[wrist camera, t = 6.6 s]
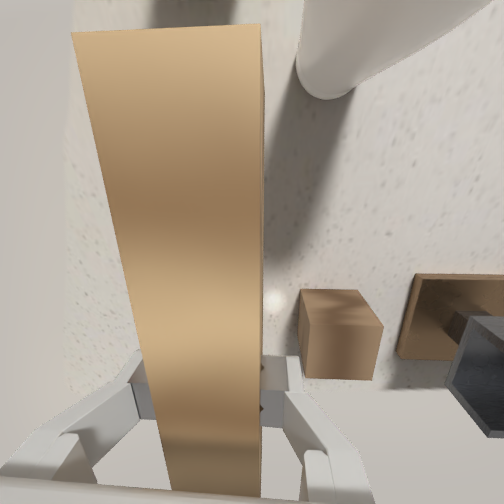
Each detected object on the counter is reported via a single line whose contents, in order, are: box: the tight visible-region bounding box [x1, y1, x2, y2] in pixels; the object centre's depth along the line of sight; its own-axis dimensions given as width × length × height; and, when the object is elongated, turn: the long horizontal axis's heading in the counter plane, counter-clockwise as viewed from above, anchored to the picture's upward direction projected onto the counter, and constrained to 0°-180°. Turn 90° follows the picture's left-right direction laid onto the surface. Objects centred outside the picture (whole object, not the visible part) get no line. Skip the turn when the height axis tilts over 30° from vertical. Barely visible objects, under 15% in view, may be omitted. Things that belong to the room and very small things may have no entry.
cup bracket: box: [396, 274, 504, 438], centre depth 21 cm, size 11×10×10 cm
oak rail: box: [71, 24, 265, 498], centre depth 10 cm, size 20×4×4 cm, turn 1°
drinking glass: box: [296, 0, 494, 100], centre depth 11 cm, size 7×7×15 cm
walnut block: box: [297, 289, 384, 381], centre depth 24 cm, size 6×6×6 cm
